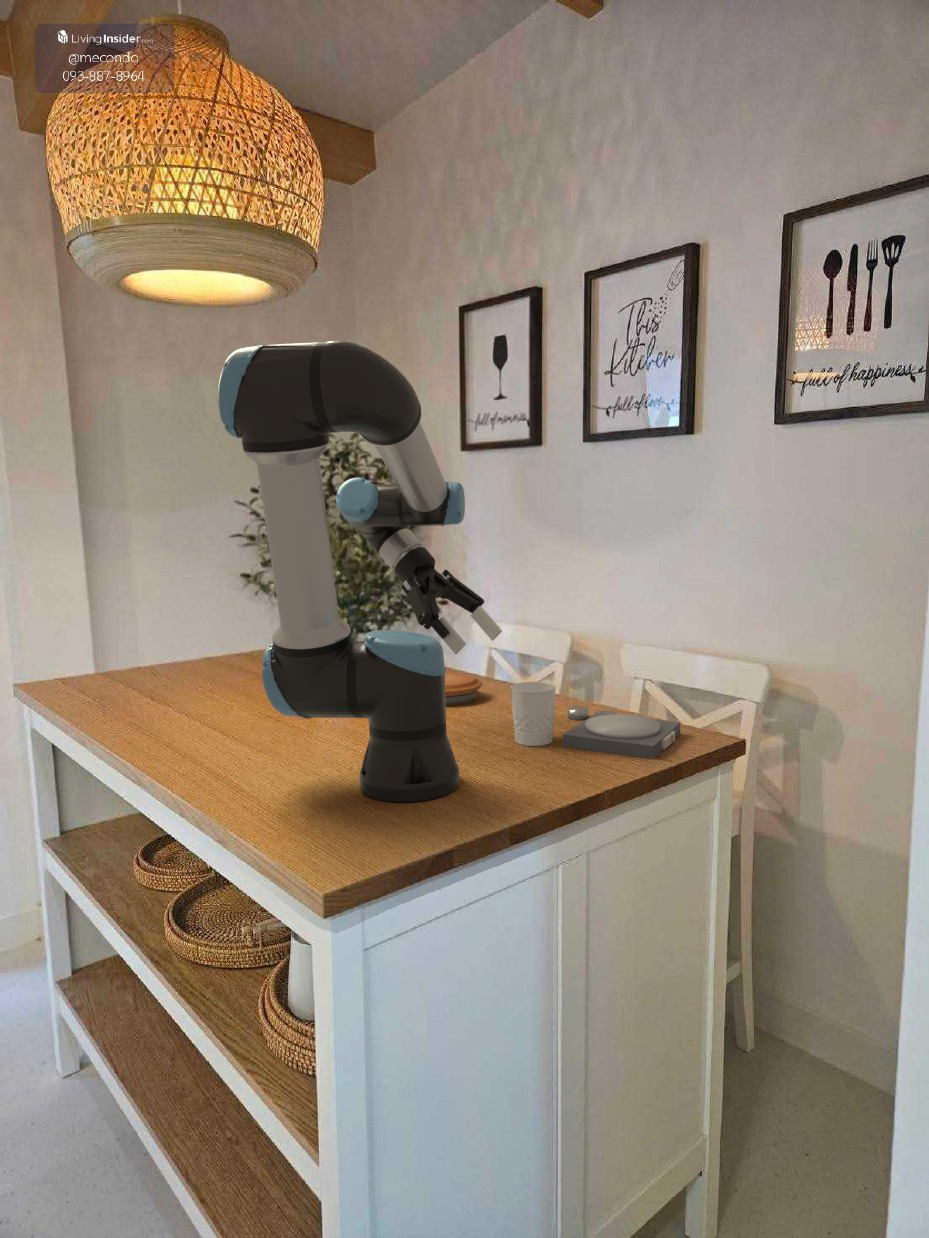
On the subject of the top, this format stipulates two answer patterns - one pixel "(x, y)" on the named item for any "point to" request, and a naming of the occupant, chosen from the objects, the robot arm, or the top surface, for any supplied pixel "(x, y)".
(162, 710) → the top surface
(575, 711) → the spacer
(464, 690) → the pie
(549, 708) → the white cup
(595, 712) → the cylinder
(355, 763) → the top surface
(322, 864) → the top surface
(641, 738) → the scale
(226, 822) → the top surface
